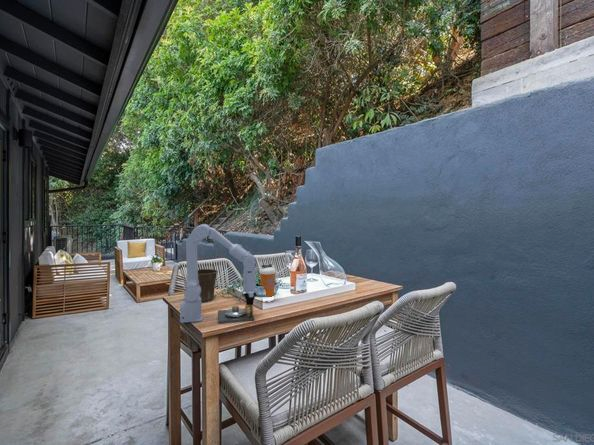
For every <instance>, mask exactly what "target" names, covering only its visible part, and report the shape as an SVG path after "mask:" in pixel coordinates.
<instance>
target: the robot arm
mask: <svg viewBox="0 0 594 445" xmlns="http://www.w3.org/2000/svg"><path fill="white" fill-rule="evenodd" d="M207 238H208V240H215V241H217V243H219V244H221V245H222V246H223V247H225V249H227V250H228V251H229V254H230V255H231V256H232V257H233V258H235V259H236V260H237V261H238V262H242V265H243V271H242V274H243V277H242V279H243V282H242V283H243V284H242V286H243V289H242V292H243V296H244V298H245V301H246V303H245V304H253V305H254V301H255V298H256V296H257V293H256V292H257V291H259V288H258V287H256V286H257V285H256V284H257V283H256V282H257V281H256V279H257V276H256V263H257V262H256V257H255V256H254V255H253V254H252V253H251V252H250V251H249V250H248V251H247V250H246V249H245V248H243V245H242V244H239V243H232V242H231V241H230V240H229V239H228V238H226V237H225V236H224V235H223V234H222V233H221V232H219V231H218V230H217V229H215V228H214V227H211V226H210V225H209V224H206V223H202V224H199V225H197V226H196V227H195V228H193V229H192V231H191V233H190V234H189V235H188V237H187V239H186V241H185V250H186V251H185V253H186V255H185V256H186V286H185V287H186V288H185V292H184V300H180V302H179V323H195V322H203V319H204V318H203V316H204V314H203V313H202V312H203V311H202V302H201V297H200V296H199V295H200V293H201V287H200V285H199V280H198V269H199V264H198V263H199V262H198V260H199V259H198V245H199V243H201V241H202V240H204V239H207Z"/></svg>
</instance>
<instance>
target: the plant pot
mask: <svg viewBox="0 0 594 445" xmlns="http://www.w3.org/2000/svg"><path fill="white" fill-rule="evenodd" d="M217 274H218V270H217V269H213V268H211V269H210V268H209V269H208V268H200V269H199V268H198V280H199V285H200V287H201V293H200V295H199V296H200V297H201V303H207V302H208V301H210V302H212V301H213V300H214V298H215V288H216V287H215V286H216V279H217Z"/></svg>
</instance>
